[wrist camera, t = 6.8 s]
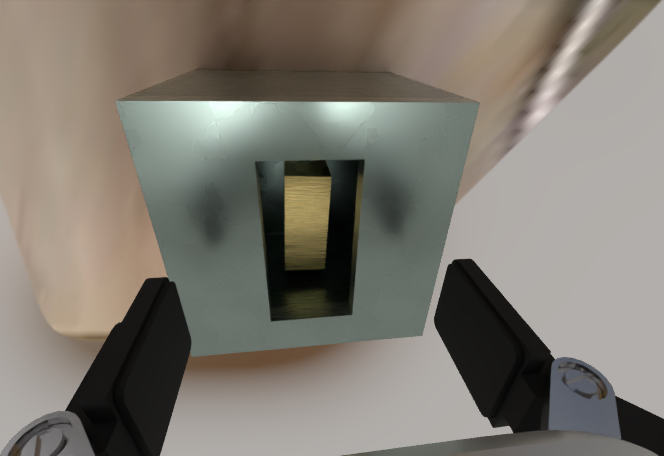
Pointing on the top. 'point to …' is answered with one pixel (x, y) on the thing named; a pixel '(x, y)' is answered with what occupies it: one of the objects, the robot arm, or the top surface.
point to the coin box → (268, 200)
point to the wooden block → (306, 213)
